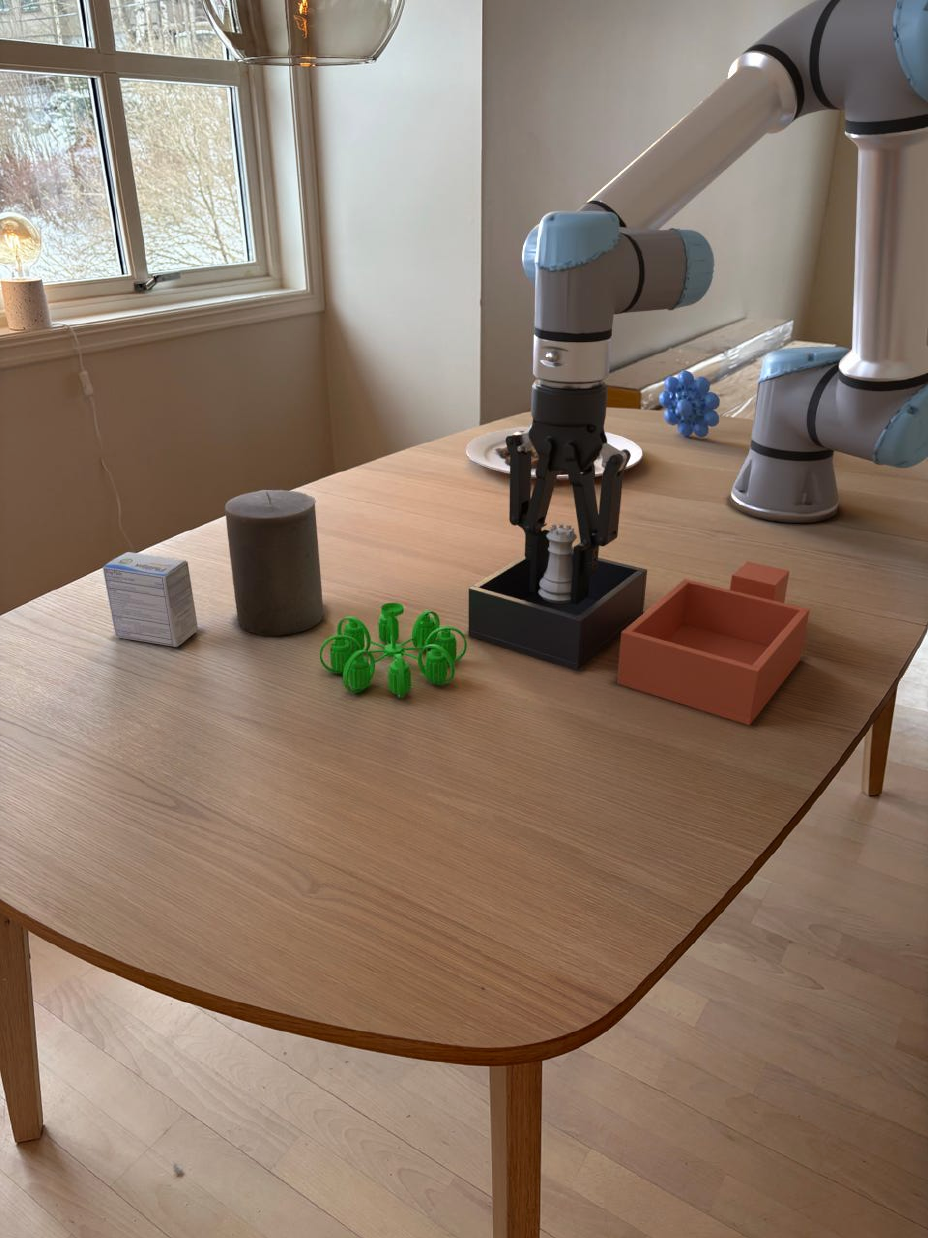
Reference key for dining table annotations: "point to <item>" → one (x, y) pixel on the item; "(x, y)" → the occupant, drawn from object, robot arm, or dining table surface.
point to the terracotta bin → (713, 649)
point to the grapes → (689, 404)
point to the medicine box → (151, 598)
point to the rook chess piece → (558, 565)
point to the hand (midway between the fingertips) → (558, 593)
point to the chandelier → (393, 650)
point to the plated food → (534, 452)
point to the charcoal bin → (556, 613)
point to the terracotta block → (760, 581)
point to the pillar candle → (275, 561)
